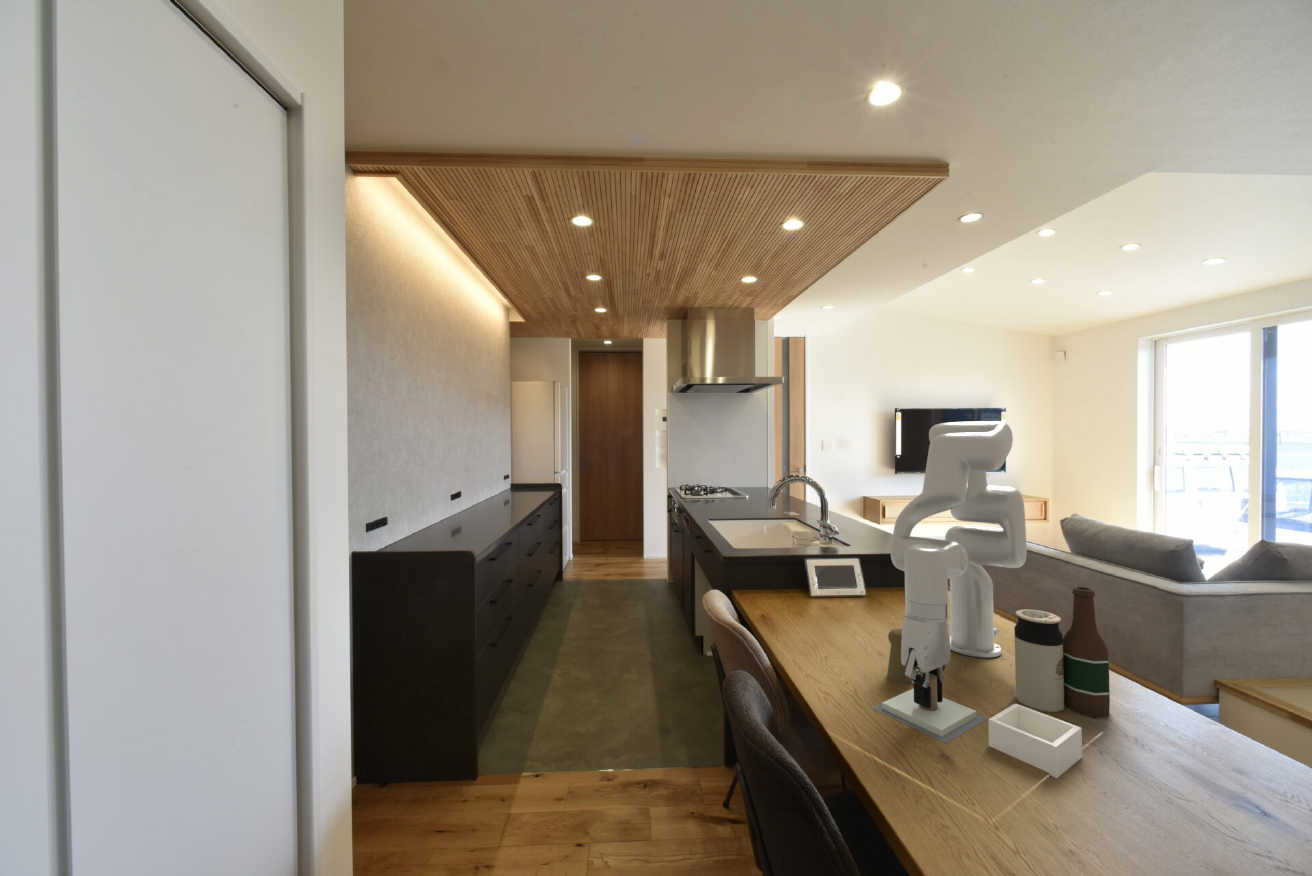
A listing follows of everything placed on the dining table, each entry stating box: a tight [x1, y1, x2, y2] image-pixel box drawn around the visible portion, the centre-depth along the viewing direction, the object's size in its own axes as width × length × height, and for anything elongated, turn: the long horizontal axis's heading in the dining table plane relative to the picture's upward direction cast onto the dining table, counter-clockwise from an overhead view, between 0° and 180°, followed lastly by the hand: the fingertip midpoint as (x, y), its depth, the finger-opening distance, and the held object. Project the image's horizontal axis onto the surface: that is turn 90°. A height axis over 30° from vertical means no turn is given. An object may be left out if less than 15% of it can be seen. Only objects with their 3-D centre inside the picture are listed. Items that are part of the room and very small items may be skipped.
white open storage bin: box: [987, 703, 1083, 779], centre depth 90 cm, size 10×10×5 cm
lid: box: [881, 672, 977, 737], centre depth 102 cm, size 12×12×7 cm
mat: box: [870, 690, 990, 744], centre depth 102 cm, size 15×15×1 cm
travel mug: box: [1013, 609, 1065, 713], centre depth 106 cm, size 8×8×18 cm
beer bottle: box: [1063, 586, 1111, 719], centre depth 104 cm, size 8×8×24 cm
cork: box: [886, 628, 913, 685], centre depth 118 cm, size 6×6×11 cm
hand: (928, 701), depth 102 cm, fingers closed on lid, 3 cm apart
